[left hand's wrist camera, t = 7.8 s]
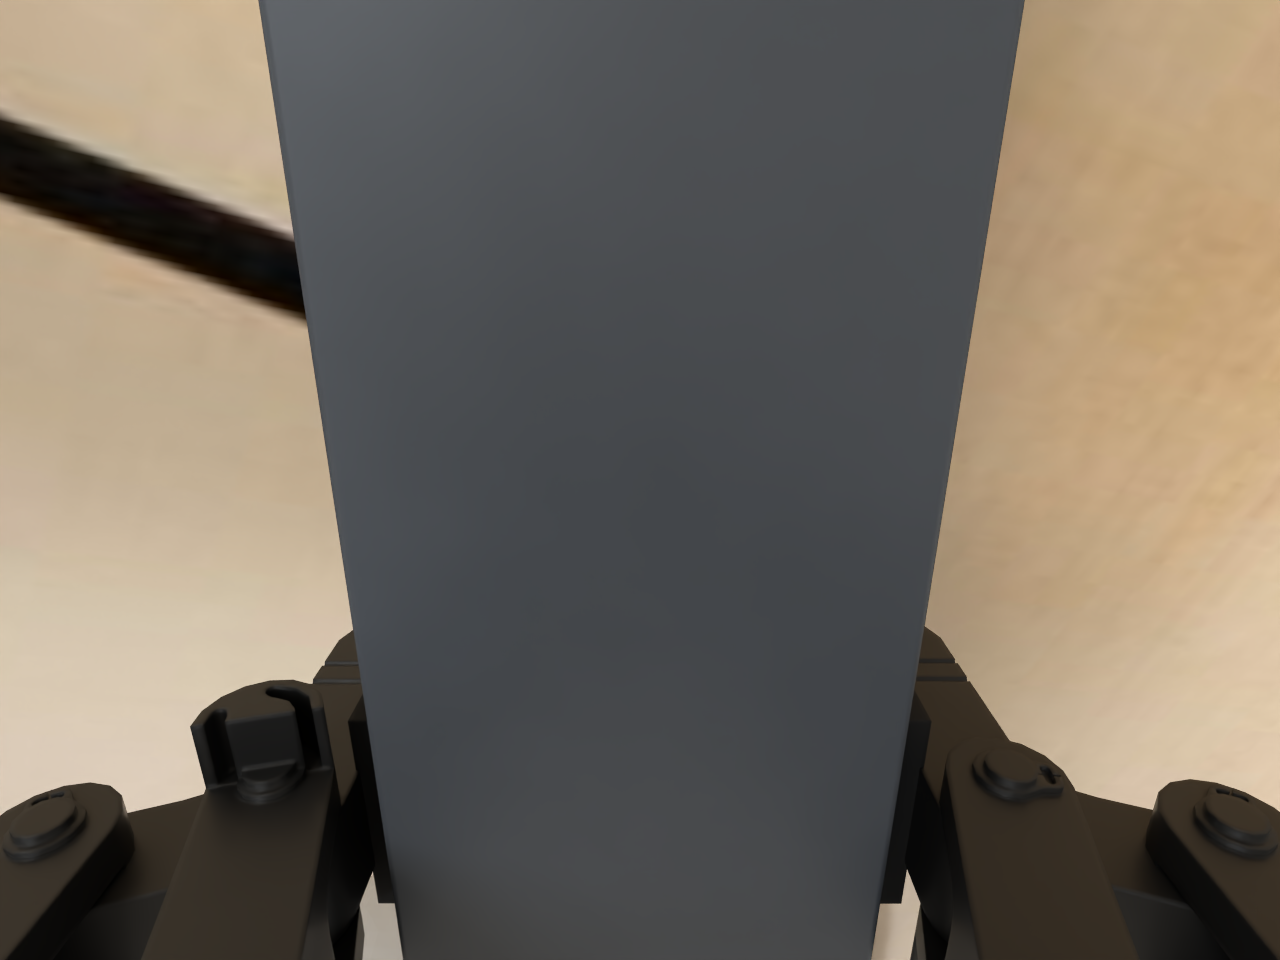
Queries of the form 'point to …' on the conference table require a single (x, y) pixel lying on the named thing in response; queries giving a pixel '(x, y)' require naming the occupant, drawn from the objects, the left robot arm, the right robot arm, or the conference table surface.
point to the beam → (639, 441)
